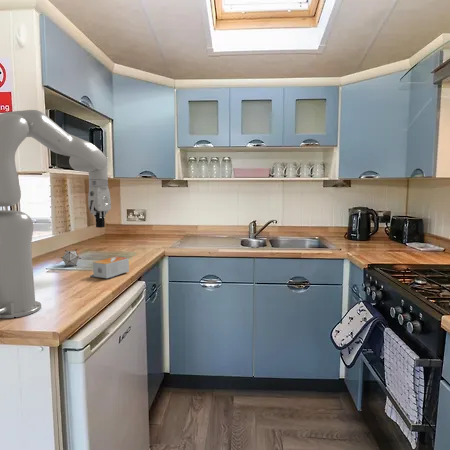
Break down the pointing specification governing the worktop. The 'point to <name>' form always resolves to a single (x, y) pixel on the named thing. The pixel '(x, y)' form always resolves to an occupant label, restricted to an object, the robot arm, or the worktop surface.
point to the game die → (70, 258)
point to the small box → (110, 267)
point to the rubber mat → (100, 277)
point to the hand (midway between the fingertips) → (100, 227)
